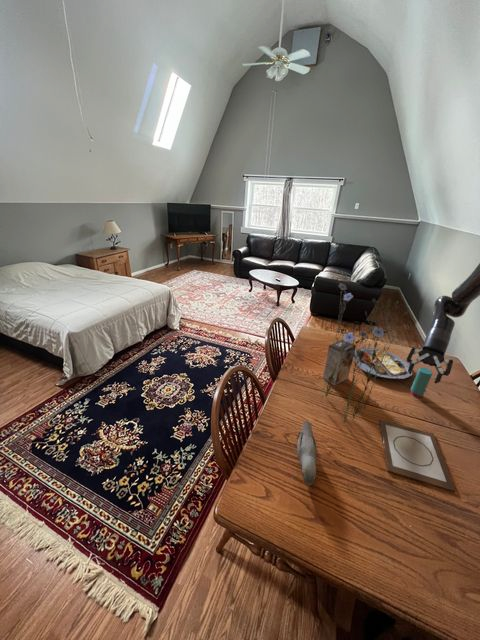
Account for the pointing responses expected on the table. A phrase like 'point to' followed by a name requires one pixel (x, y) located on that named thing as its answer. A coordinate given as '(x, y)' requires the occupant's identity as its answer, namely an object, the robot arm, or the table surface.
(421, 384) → the cylinder
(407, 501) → the table surface
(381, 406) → the table surface
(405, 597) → the table surface
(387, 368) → the food plate
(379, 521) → the table surface
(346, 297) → the wildflower
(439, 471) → the picture frame
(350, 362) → the coffee box
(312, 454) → the decorative bird
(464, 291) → the robot arm
